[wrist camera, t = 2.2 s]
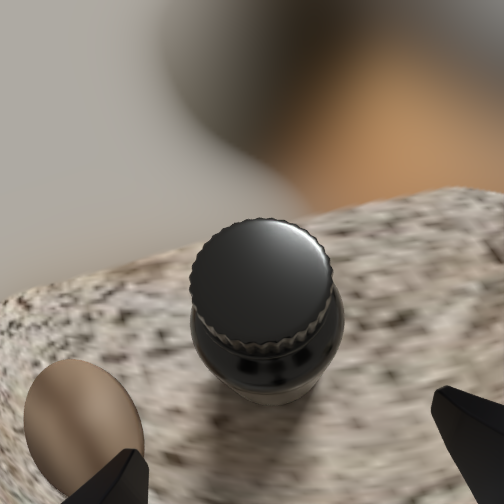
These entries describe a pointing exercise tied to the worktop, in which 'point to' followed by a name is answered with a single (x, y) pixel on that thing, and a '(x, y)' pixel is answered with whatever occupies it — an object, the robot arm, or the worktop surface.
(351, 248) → the worktop surface
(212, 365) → the supplement bottle
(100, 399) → the walnut trivet
